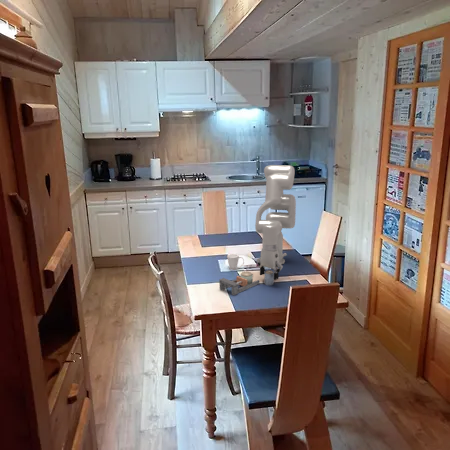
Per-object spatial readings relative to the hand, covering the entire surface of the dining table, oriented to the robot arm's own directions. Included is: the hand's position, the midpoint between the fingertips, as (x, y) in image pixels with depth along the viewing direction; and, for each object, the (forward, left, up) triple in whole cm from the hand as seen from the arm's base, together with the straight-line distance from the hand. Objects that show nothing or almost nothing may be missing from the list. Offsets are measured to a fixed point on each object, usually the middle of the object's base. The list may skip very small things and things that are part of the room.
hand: (269, 277), depth 226 cm
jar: (-1, 0, -4) cm, 4 cm away
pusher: (+16, -9, -4) cm, 19 cm away
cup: (-4, -29, -4) cm, 29 cm away
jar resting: (+8, -9, -4) cm, 13 cm away
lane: (+13, -9, -4) cm, 17 cm away
